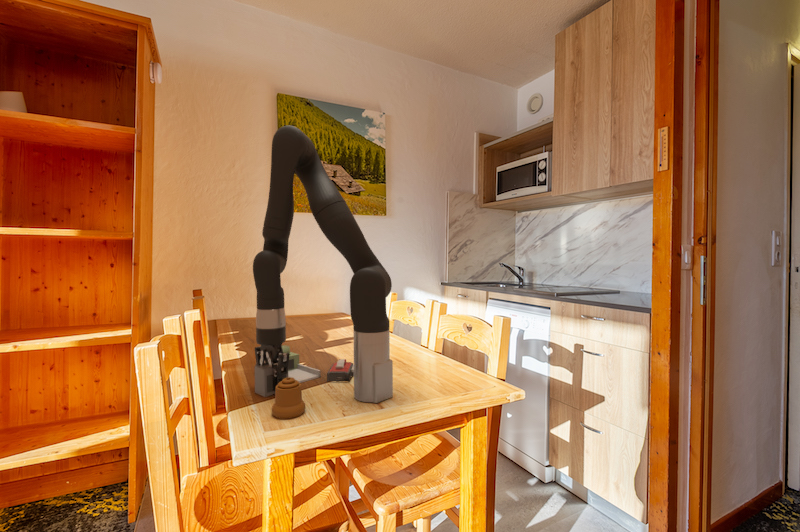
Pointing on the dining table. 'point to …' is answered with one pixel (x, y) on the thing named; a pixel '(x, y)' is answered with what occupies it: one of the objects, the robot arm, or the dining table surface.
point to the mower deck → (299, 368)
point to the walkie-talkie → (340, 371)
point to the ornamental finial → (288, 399)
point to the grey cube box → (265, 380)
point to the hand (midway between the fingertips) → (271, 387)
